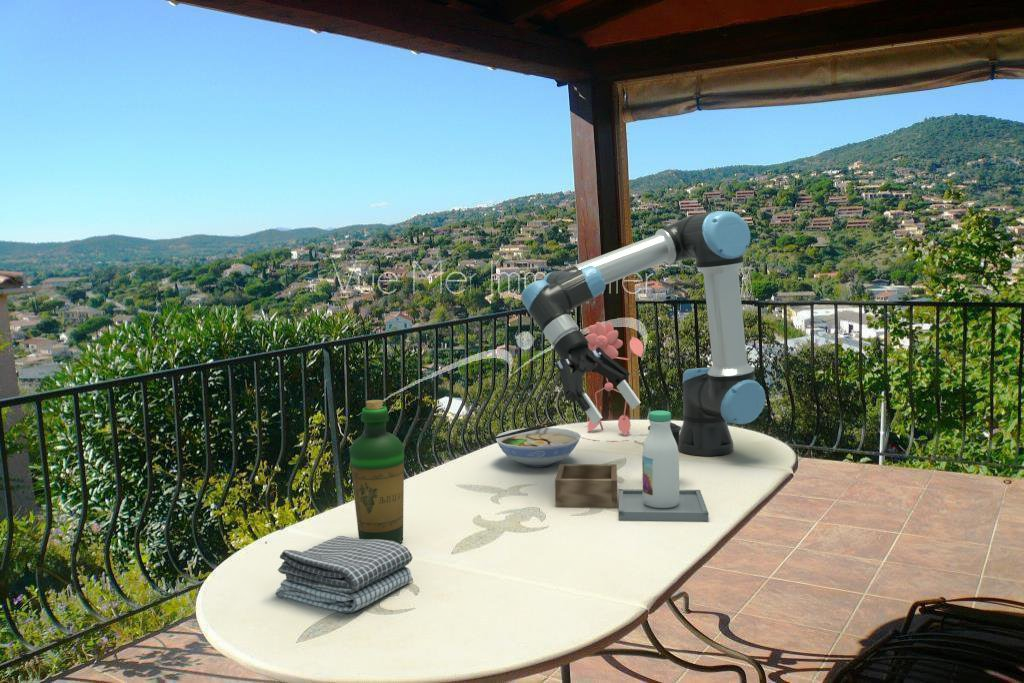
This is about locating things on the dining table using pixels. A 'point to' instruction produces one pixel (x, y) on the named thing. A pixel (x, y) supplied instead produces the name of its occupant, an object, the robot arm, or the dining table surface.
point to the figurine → (609, 344)
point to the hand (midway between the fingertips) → (618, 413)
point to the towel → (344, 573)
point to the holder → (586, 485)
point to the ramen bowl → (538, 444)
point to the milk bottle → (660, 463)
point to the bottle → (378, 477)
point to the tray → (686, 510)
